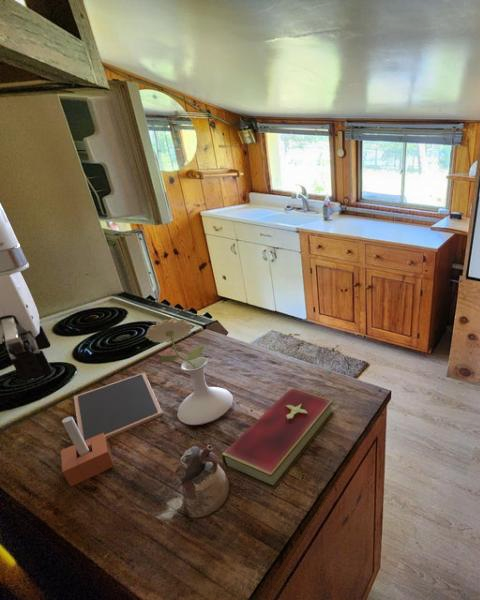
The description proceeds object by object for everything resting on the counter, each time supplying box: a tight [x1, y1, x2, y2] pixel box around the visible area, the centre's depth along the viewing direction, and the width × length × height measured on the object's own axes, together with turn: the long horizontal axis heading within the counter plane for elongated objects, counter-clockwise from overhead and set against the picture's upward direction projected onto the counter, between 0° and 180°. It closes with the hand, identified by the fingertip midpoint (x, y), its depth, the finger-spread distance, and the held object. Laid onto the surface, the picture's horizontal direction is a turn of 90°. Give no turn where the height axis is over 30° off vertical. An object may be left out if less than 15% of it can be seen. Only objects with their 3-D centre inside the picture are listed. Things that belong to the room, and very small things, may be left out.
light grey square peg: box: [61, 416, 90, 457], centre depth 60 cm, size 1×1×12 cm
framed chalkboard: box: [73, 372, 164, 441], centre depth 77 cm, size 14×20×1 cm
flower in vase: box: [144, 317, 234, 426], centre depth 71 cm, size 13×11×25 cm
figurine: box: [175, 444, 230, 519], centre depth 56 cm, size 7×7×12 cm
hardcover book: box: [220, 386, 335, 490], centre depth 70 cm, size 12×21×4 cm, turn 159°
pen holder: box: [60, 433, 115, 487], centre depth 62 cm, size 6×6×4 cm
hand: (38, 362), depth 53 cm, fingers open, 9 cm apart
